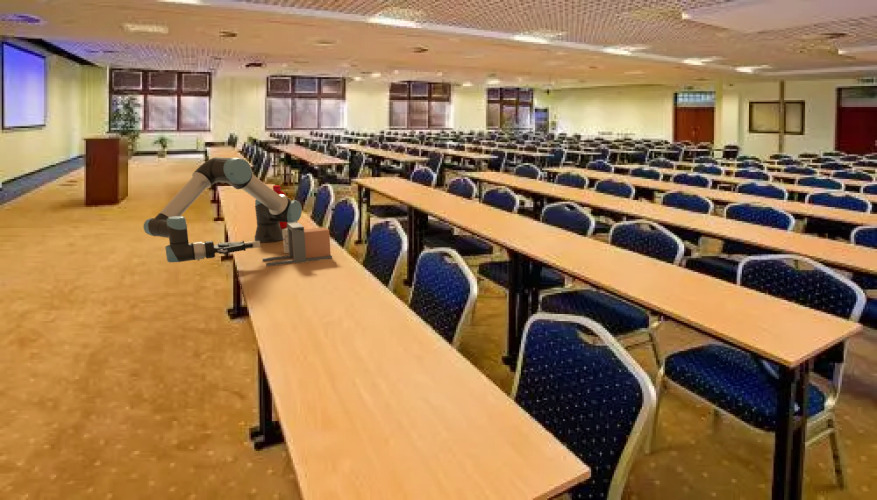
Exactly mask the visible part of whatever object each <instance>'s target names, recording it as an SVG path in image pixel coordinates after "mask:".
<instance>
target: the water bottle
mask: <svg viewBox="0 0 877 500" xmlns="http://www.w3.org/2000/svg"><path fill="white" fill-rule="evenodd" d="M281 189H282V187H281V185H279V184H278V185H277V184H276V185H272V190H273V191H275V192H276V193H277V194H279V195H280V194H282V195H285V196H286V197H287V195H286V193H285V192H284V190H281ZM287 223H288V222H279V224H280V227H281V229H282V230H283V229H285V228H287Z"/></svg>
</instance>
